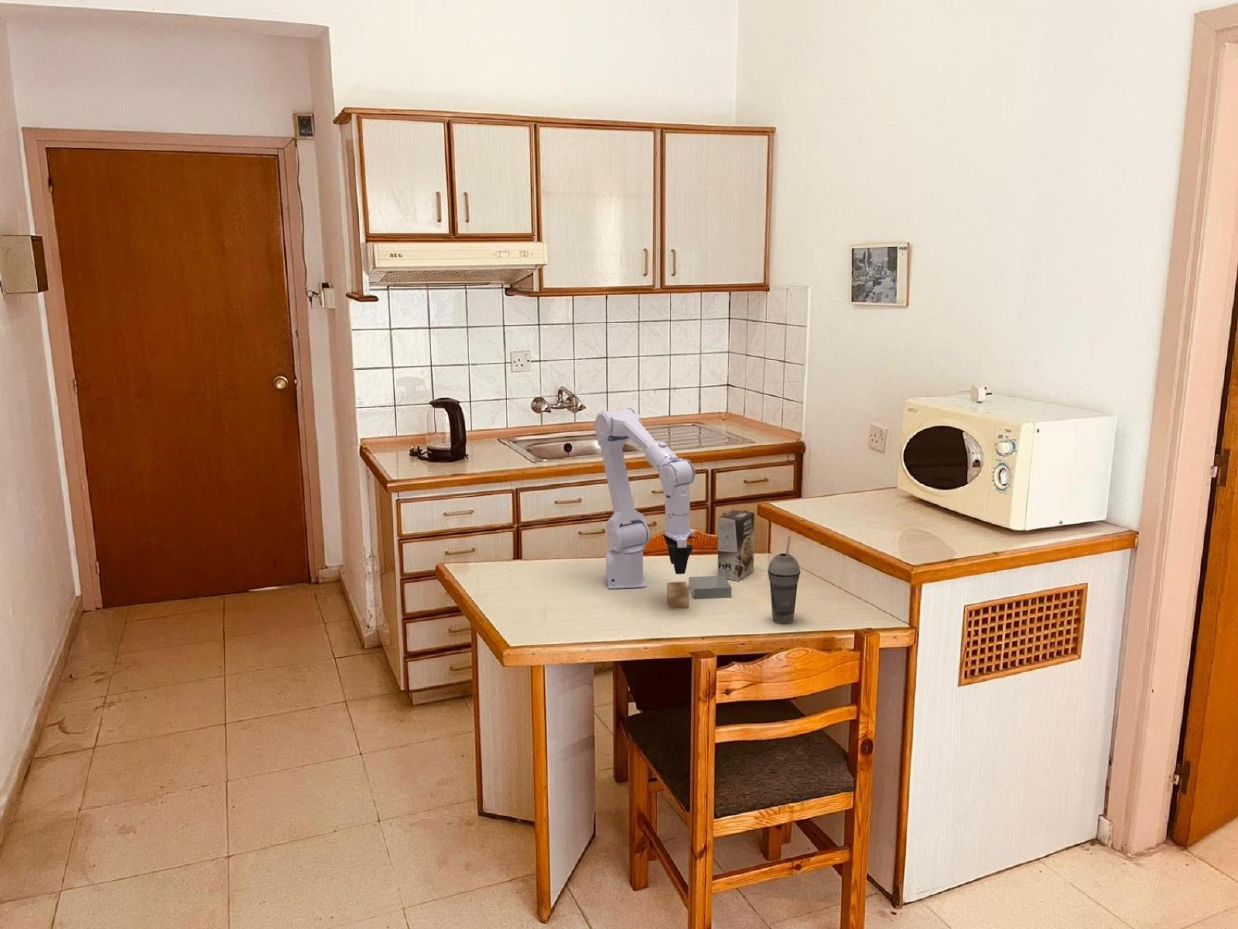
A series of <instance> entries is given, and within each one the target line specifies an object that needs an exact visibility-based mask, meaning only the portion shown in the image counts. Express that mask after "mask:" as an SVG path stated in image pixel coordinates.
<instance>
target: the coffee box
mask: <svg viewBox="0 0 1238 929" xmlns="http://www.w3.org/2000/svg"><path fill="white" fill-rule="evenodd" d="M717 518H718V519H717V524H718V525H717V528H718V529H717V576H725V577H726V579H727V580H729V581H730V580H731V581H735V582H740V581H741V580H743V579H745V578H746V577H747V576H749V575H751V574H753V573H754V572H755V571H754V570H755V568H754V567H755V512H752V511H744V510H734V509H733V510H731V511H728V512H727V513H725V514H723V515H720V516H718V517H717Z"/></svg>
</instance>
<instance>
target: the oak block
mask: <svg viewBox="0 0 1238 929" xmlns="http://www.w3.org/2000/svg"><path fill="white" fill-rule="evenodd" d="M666 583H667V584H666V588H667V589H666V590H667V591H666V596H667V598H666V599H667V600H666V603H667V605H668V608H669V610H674V609H689V608H690V594H689V593H690V588H689V584H688V583H687V581H675V582H673V581H670V582H666Z"/></svg>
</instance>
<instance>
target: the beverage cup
mask: <svg viewBox="0 0 1238 929" xmlns="http://www.w3.org/2000/svg"><path fill="white" fill-rule="evenodd" d="M786 542H787V544H786V550H785V551H786V552H785V553H784V552H783V553H779V554H776V555H775V556H773V557H772V559H771V560H770V562H769V565H768V569H767V573H768V579H769V587H770V590H769V591H770V602H771V614H772V621H773V622H774V623H776V624H778V625H789V624H790V625H791V624H792V623H793V622H794V616H795V608H796V602H797V601H796V600H797V592H798V582H799V579H800V575H801V569H800V568H801V567H800V564H799V561H798V560H797V559H796V558H795V557H794V556H793V555H791V554H789V550H790V544H791V543H790V542H791V535H788V536H787V541H786Z"/></svg>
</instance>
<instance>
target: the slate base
mask: <svg viewBox="0 0 1238 929" xmlns="http://www.w3.org/2000/svg"><path fill="white" fill-rule="evenodd" d="M688 587H689V592H691V594H692V597H693V599H694V600H697V599H698V600H701V599H722V598H732V586H731V584H730V582H729V581H728V579H726V577H725V576H718V575H711V576H710V575H705V576H704V575H703V576H689V577H688Z"/></svg>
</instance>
